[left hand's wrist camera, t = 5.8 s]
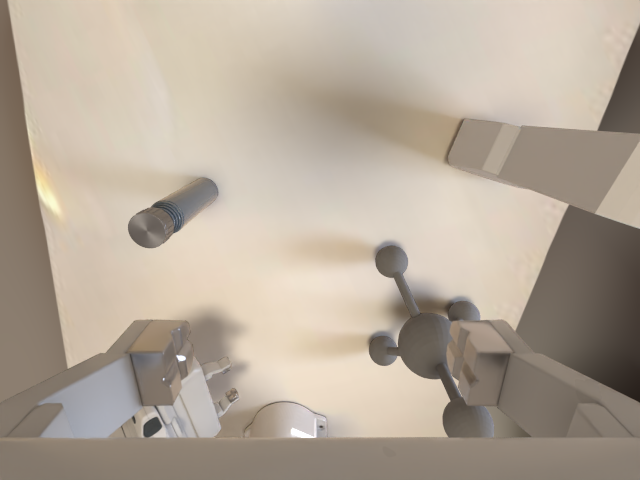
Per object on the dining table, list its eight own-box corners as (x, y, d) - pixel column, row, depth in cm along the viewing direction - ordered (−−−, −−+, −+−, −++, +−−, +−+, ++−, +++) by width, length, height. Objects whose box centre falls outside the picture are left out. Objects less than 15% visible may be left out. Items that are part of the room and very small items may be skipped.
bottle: (186, 191, 58) (121, 230, 39) (201, 172, 56) (142, 203, 38) (207, 208, 59) (154, 255, 40) (223, 190, 58) (175, 228, 39)
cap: (130, 225, 40) (120, 232, 38) (150, 199, 39) (140, 204, 37) (161, 248, 42) (152, 255, 39) (181, 223, 40) (173, 229, 38)
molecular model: (321, 325, 67) (322, 480, 39) (383, 234, 60) (439, 342, 32) (418, 373, 71) (482, 544, 43) (487, 293, 64) (616, 434, 36)
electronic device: (532, 141, 55) (757, 172, 26) (509, 185, 57) (693, 257, 29) (461, 116, 53) (620, 122, 25) (441, 163, 56) (565, 215, 28)
